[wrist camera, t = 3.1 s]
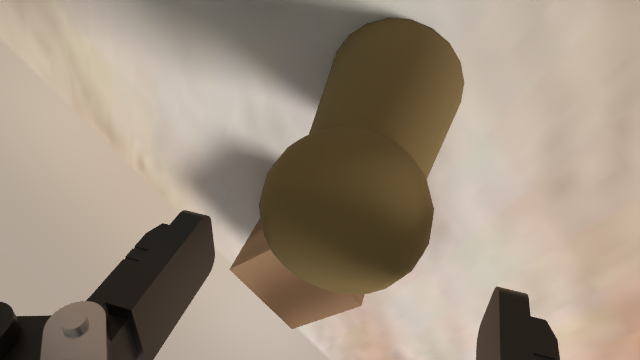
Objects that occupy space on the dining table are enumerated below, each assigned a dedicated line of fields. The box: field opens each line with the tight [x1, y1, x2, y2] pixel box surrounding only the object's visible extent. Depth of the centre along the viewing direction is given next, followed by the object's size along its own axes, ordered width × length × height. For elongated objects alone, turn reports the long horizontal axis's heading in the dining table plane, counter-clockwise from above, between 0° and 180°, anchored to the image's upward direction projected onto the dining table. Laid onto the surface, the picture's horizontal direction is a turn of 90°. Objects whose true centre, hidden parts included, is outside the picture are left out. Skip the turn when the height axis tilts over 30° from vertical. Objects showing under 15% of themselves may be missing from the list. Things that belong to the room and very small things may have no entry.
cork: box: [259, 18, 464, 294], centre depth 17 cm, size 6×6×11 cm
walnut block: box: [230, 218, 364, 329], centre depth 26 cm, size 5×5×5 cm
